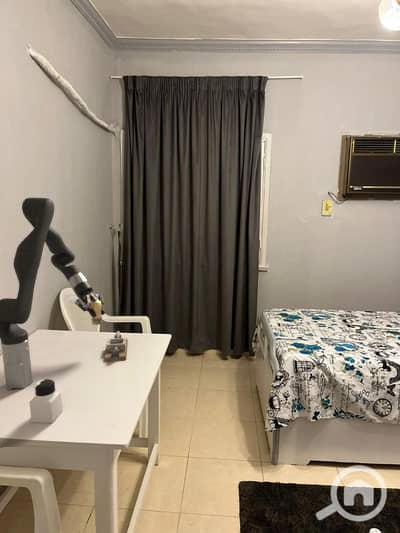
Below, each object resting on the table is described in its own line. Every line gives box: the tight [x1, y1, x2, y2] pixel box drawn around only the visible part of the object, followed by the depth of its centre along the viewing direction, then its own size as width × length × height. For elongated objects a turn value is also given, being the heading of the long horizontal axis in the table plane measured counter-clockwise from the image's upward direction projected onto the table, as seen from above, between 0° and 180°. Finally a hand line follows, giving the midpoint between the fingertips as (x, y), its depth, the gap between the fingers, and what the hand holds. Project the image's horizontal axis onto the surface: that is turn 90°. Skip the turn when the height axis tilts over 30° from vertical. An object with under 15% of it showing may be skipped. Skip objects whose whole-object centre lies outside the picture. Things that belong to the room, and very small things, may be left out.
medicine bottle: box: [29, 378, 63, 424], centre depth 122 cm, size 7×7×12 cm
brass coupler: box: [91, 300, 103, 326], centre depth 171 cm, size 4×4×10 cm
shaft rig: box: [104, 330, 129, 362], centre depth 176 cm, size 24×9×6 cm, turn 9°
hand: (99, 315), depth 170 cm, fingers closed on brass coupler, 4 cm apart
